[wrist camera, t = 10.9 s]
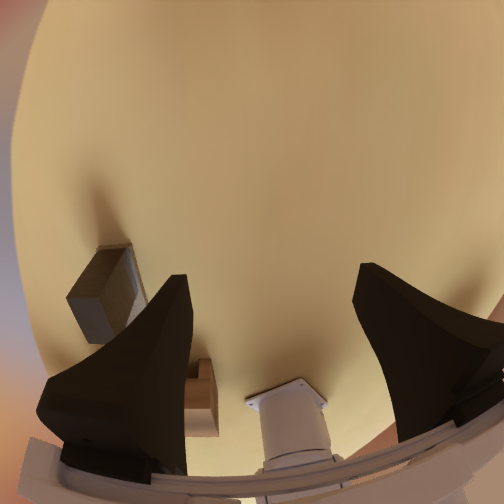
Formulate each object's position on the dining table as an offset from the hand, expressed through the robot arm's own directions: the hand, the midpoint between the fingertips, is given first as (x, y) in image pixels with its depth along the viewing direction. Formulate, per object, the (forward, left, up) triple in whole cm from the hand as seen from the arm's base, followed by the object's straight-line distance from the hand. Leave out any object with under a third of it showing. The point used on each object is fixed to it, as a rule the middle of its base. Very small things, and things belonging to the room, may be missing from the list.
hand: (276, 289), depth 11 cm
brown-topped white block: (-3, +14, -10) cm, 17 cm away
